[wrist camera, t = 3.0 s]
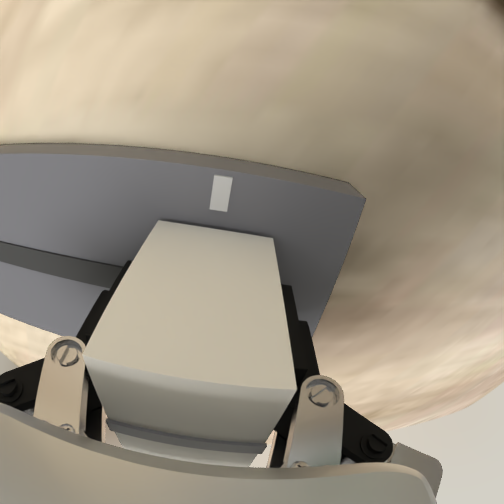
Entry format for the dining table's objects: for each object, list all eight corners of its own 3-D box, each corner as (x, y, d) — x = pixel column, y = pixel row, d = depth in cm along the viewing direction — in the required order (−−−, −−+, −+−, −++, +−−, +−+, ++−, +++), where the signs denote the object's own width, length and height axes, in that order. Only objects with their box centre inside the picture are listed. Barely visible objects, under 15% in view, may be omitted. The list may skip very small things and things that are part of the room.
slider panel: (348, 182, 11) (367, 200, 10) (289, 349, 16) (293, 378, 14) (-65, 151, 9) (-85, 161, 7) (-41, 273, 13) (-55, 288, 12)
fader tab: (274, 238, 10) (300, 393, 5) (244, 352, 13) (244, 476, 8) (157, 220, 10) (78, 357, 4) (157, 339, 13) (126, 459, 7)
